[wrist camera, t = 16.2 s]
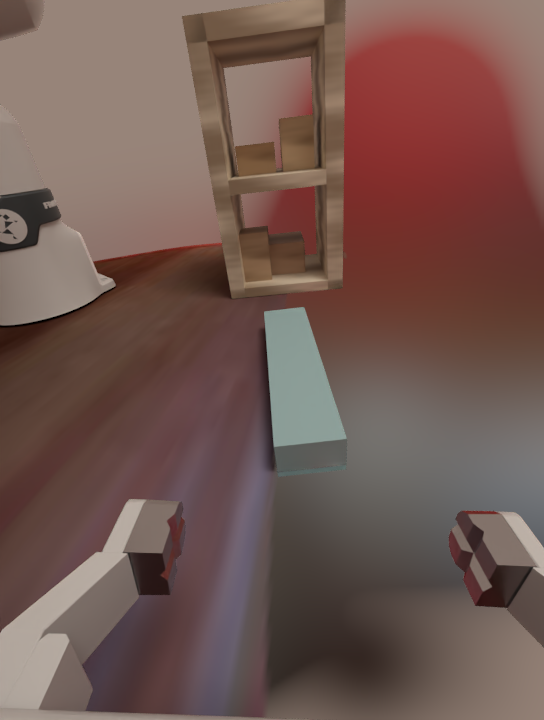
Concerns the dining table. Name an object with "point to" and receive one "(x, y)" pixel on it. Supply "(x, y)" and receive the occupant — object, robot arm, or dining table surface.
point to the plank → (301, 399)
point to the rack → (297, 139)
